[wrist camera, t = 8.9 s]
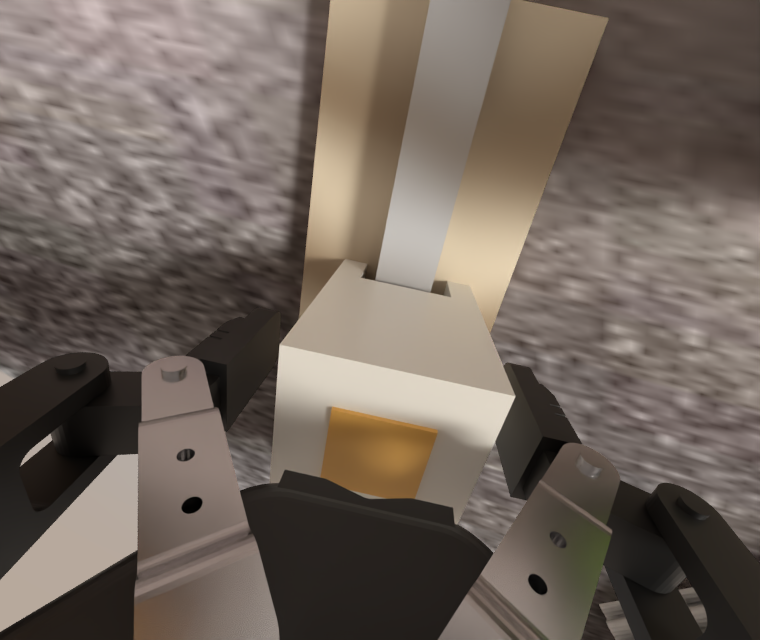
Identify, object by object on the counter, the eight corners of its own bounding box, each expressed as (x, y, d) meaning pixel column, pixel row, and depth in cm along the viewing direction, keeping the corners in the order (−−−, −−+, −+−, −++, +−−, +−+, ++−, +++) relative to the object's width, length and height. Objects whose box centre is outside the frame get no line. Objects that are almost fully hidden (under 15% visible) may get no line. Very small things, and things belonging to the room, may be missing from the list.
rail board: (341, -22, 11) (320, -71, 8) (592, 30, 11) (640, -6, 8) (292, 430, 19) (275, 466, 17) (434, 462, 19) (436, 503, 16)
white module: (345, 259, 13) (277, 346, 7) (469, 285, 13) (517, 399, 7) (329, 364, 16) (266, 505, 9) (436, 387, 16) (449, 547, 9)
